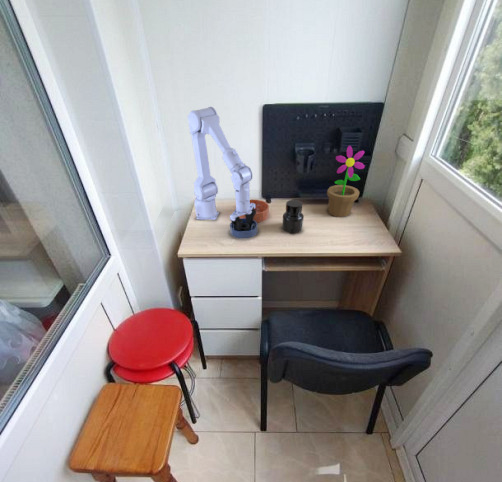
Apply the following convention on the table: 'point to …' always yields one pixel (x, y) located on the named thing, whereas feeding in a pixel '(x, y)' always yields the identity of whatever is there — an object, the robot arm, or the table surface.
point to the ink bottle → (293, 217)
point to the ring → (245, 227)
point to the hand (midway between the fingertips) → (243, 229)
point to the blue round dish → (244, 233)
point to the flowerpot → (344, 186)
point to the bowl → (259, 211)
